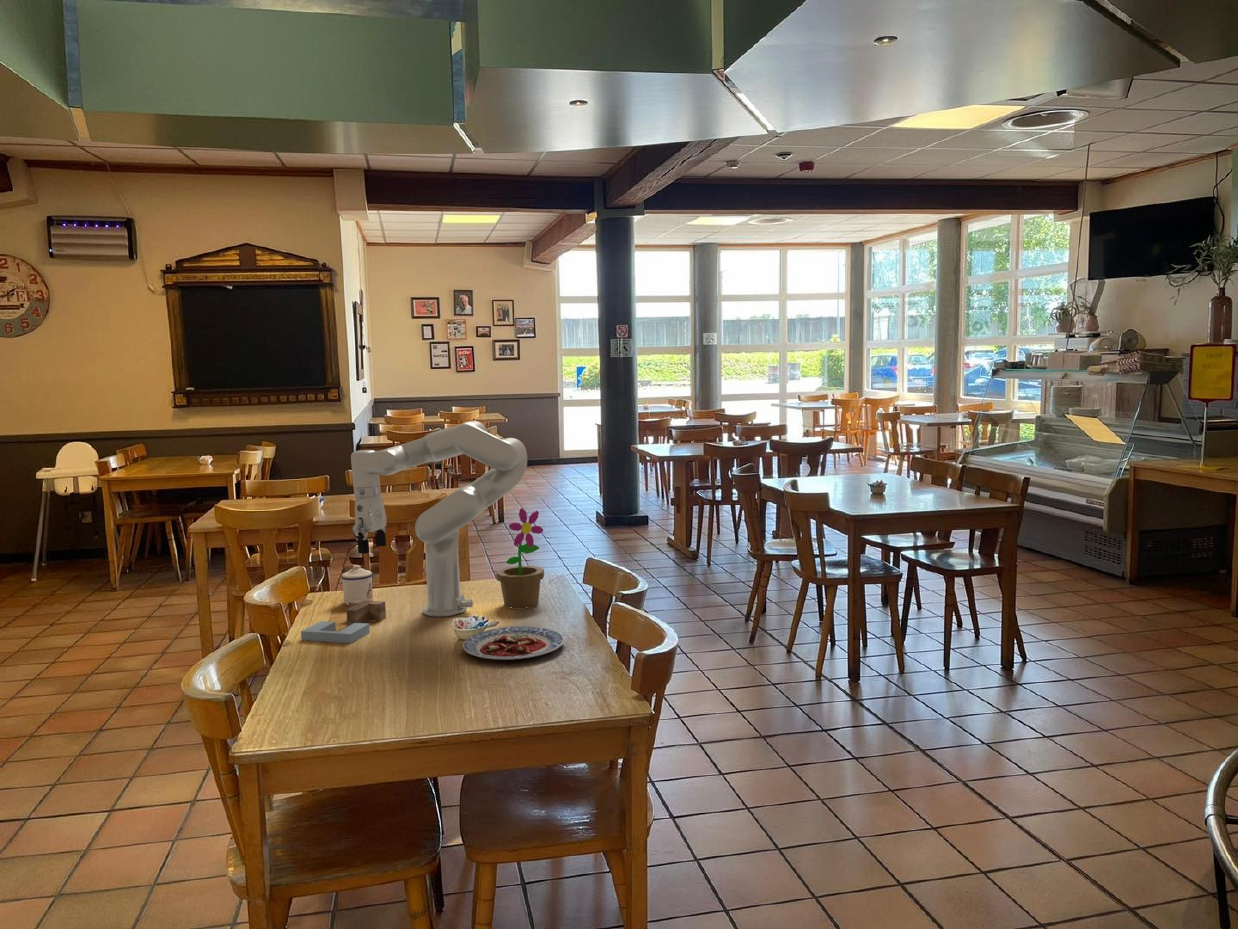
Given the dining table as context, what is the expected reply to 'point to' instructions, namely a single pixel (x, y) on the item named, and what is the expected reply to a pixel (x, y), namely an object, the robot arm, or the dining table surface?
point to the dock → (334, 632)
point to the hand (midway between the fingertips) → (372, 549)
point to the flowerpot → (522, 568)
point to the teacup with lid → (357, 585)
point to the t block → (365, 611)
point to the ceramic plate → (513, 643)
